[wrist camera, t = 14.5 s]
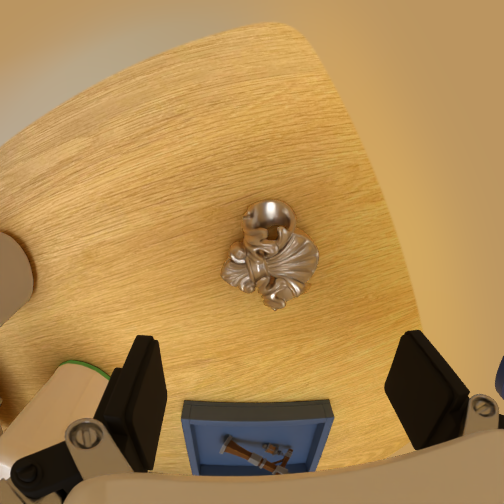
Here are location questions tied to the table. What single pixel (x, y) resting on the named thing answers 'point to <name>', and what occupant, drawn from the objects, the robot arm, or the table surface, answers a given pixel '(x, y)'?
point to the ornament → (271, 255)
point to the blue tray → (255, 435)
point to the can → (13, 278)
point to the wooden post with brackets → (257, 459)
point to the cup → (52, 412)
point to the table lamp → (0, 425)
